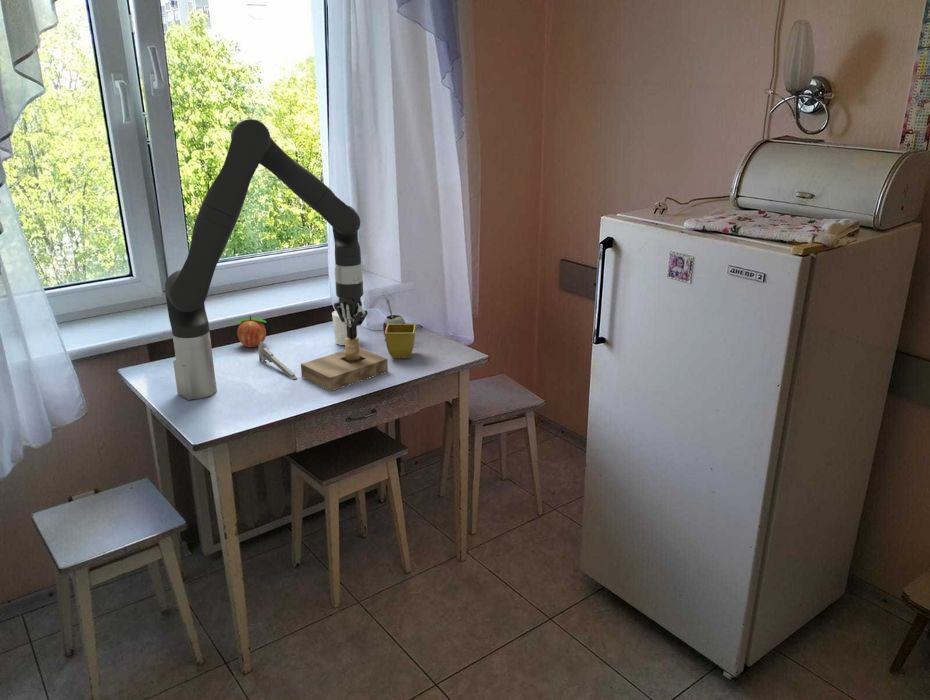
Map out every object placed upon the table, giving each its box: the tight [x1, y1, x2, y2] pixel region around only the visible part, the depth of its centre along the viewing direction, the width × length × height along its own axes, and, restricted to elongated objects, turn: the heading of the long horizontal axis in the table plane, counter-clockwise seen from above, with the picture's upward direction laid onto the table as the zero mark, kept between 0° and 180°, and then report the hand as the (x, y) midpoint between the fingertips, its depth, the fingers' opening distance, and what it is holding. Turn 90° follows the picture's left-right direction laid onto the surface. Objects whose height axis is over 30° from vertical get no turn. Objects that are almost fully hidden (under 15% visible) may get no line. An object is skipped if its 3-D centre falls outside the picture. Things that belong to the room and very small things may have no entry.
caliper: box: [257, 342, 298, 380], centre depth 218 cm, size 20×1×6 cm, turn 42°
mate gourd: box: [381, 292, 406, 342], centre depth 240 cm, size 8×8×15 cm
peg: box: [344, 336, 360, 364], centre depth 216 cm, size 4×4×10 cm
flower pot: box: [384, 323, 416, 359], centre depth 228 cm, size 9×9×9 cm
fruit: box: [234, 315, 267, 348], centre depth 235 cm, size 9×10×10 cm
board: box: [300, 346, 389, 392], centre depth 215 cm, size 20×14×4 cm
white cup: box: [331, 310, 347, 346], centre depth 239 cm, size 8×8×10 cm
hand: (352, 338), depth 214 cm, fingers closed
